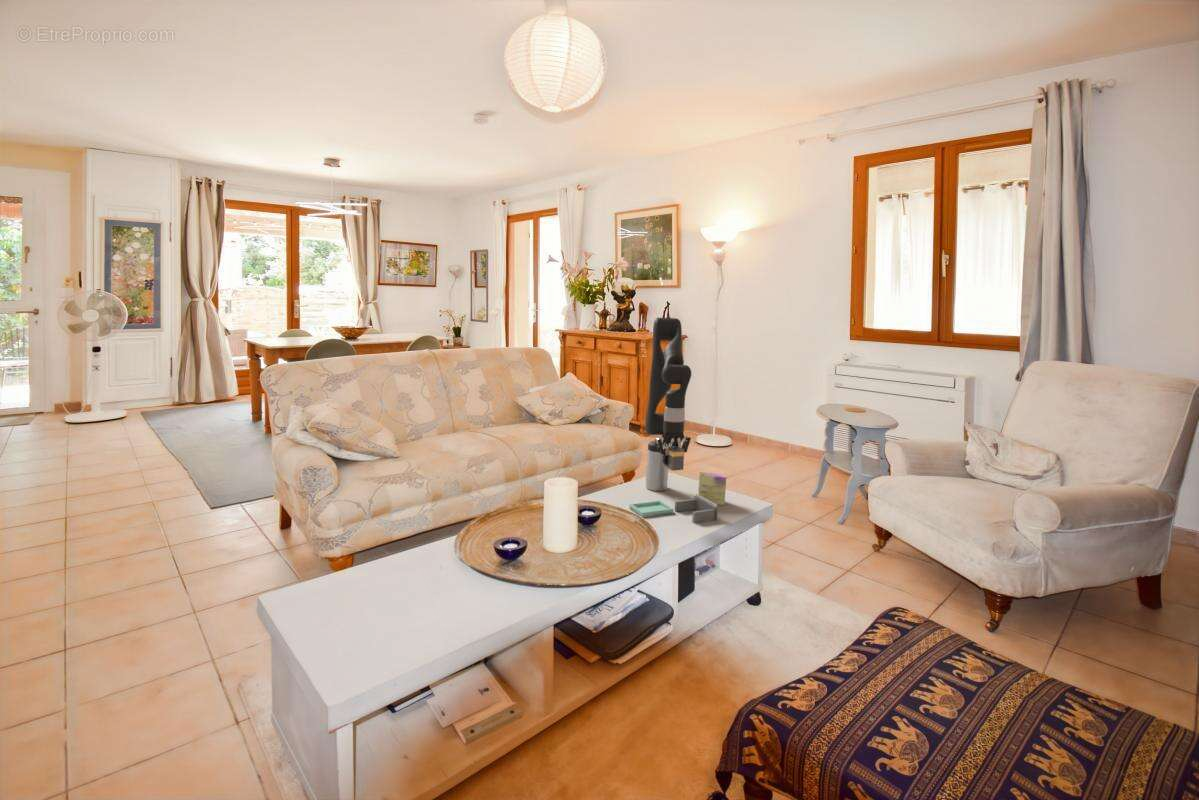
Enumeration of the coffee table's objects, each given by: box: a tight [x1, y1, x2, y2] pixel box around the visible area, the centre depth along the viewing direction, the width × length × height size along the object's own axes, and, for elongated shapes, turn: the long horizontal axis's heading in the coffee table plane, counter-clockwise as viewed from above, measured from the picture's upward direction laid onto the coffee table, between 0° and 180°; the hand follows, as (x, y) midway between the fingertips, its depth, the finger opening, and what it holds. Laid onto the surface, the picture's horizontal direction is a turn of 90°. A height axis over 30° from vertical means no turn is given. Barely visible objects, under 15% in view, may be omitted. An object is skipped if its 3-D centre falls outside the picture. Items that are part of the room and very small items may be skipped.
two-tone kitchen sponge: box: [661, 445, 685, 472], centre depth 219 cm, size 9×5×8 cm, turn 22°
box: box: [697, 471, 727, 506], centre depth 242 cm, size 10×6×12 cm, turn 84°
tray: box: [629, 499, 675, 518], centre depth 230 cm, size 11×14×2 cm
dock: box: [674, 493, 719, 524], centre depth 226 cm, size 14×10×6 cm
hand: (671, 464), depth 219 cm, fingers closed on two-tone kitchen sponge, 4 cm apart
